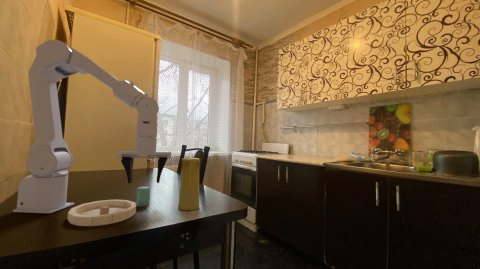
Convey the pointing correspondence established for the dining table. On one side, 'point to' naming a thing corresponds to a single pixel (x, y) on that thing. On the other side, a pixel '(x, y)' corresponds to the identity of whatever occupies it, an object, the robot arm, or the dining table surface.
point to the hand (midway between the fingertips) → (144, 182)
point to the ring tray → (101, 212)
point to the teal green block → (143, 196)
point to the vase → (189, 184)
